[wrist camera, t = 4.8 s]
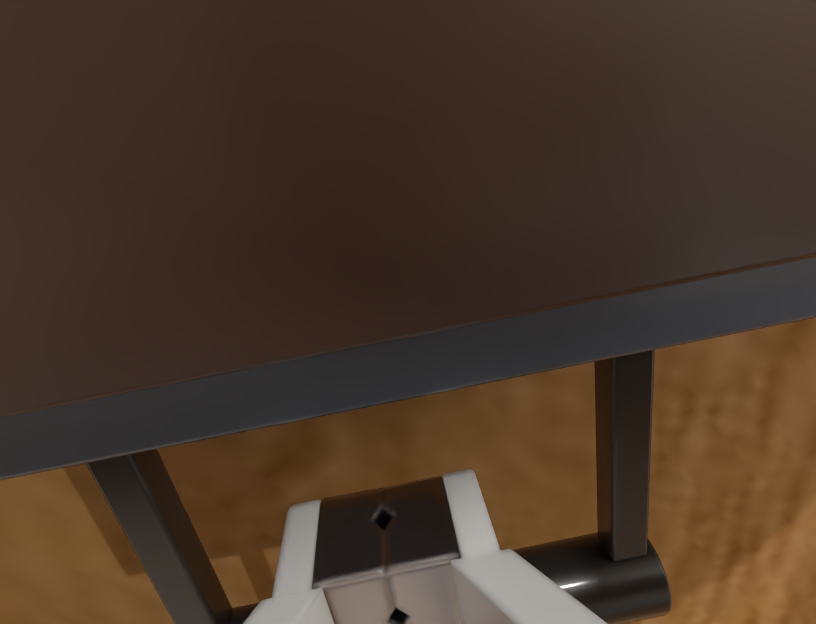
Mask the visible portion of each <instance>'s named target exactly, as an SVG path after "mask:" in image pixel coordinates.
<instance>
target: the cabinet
mask: <svg viewBox="0 0 816 624" xmlns="http://www.w3.org/2000/svg"><path fill="white" fill-rule="evenodd" d="M814 257H816V0H0V418H2V417H8V416H13V415H18V414H23V413H28V412H33V411H38V410H43V409H48V408H53V407H58V406H63V405H68V404H73V403H79V402H84V401H89V400H94V399H99V398H104V397H109V396H114V395H119V394H124V393H129V392H134V391H139V390H144V389H150V388H155V387H160V386H165V385H170V384H175V383H180V382H185V381H190V380H195V379H200V378H205V377H210V376H215V375H221V374H226V373H231V372H236V371H241V370H246V369H251V368H256V367H261V366H266V365H271V364H276V363H281V362H286V361H292V360H297V359H302V358H307V357H312V356H317V355H322V354H327V353H332V352H337V351H342V350H347V349H352V348H357V347H363V346H368V345H373V344H378V343H383V342H388V341H393V340H398V339H403V338H408V337H413V336H418V335H423V334H428V333H434V332H439V331H444V330H449V329H454V328H459V327H464V326H469V325H474V324H479V323H484V322H489V321H494V320H499V319H505V318H510V317H515V316H520V315H525V314H530V313H535V312H540V311H545V310H550V309H555V308H560V307H565V306H571V305H576V304H581V303H586V302H591V301H596V300H601V299H606V298H611V297H616V296H621V295H626V294H631V293H636V292H642V291H647V290H652V289H657V288H662V287H667V286H672V285H677V284H682V283H687V282H692V281H697V280H702V279H707V278H713V277H718V276H723V275H728V274H733V273H738V272H743V271H748V270H753V269H758V268H763V267H768V266H773V265H778V264H784V263H789V262H794V261H799V260H804V259H809V258H814Z"/></svg>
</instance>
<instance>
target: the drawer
mask: <svg viewBox="0 0 816 624" xmlns="http://www.w3.org/2000/svg"><path fill="white" fill-rule="evenodd" d="M815 317H816V257H814V258H809V259H804V260H799V261H794V262H789V263H784V264H778V265H773V266H768V267H763V268H758V269H753V270H748V271H743V272H738V273H733V274H728V275H723V276H718V277H713V278H707V279H702V280H697V281H692V282H687V283H682V284H677V285H672V286H667V287H662V288H657V289H652V290H647V291H642V292H636V293H631V294H626V295H621V296H616V297H611V298H606V299H601V300H596V301H591V302H586V303H581V304H576V305H571V306H565V307H560V308H555V309H550V310H545V311H540V312H535V313H530V314H525V315H520V316H515V317H510V318H505V319H499V320H494V321H489V322H484V323H479V324H474V325H469V326H464V327H459V328H454V329H449V330H444V331H439V332H434V333H428V334H423V335H418V336H413V337H408V338H403V339H398V340H393V341H388V342H383V343H378V344H373V345H368V346H363V347H357V348H352V349H347V350H342V351H337V352H332V353H327V354H322V355H317V356H312V357H307V358H302V359H297V360H292V361H286V362H281V363H276V364H271V365H266V366H261V367H256V368H251V369H246V370H241V371H236V372H231V373H226V374H221V375H215V376H210V377H205V378H200V379H195V380H190V381H185V382H180V383H175V384H170V385H165V386H160V387H155V388H150V389H144V390H139V391H134V392H129V393H124V394H119V395H114V396H109V397H104V398H99V399H94V400H89V401H84V402H79V403H73V404H68V405H63V406H58V407H53V408H48V409H43V410H38V411H33V412H28V413H23V414H18V415H13V416H8V417H2V418H0V480H4V479H9V478H14V477H19V476H24V475H29V474H34V473H39V472H44V471H49V470H54V469H59V468H64V467H69V466H74V465H79V464H84V463H86V465H87V467H88V469H89V470H90V472H91V474H92V476H93V477H94V479H95V481H96V483H97V485H98V486H99V488H100V490H101V492H102V494H103V495H104V497H105V499H106V501H107V503H108V504H109V506H110V508H111V510H112V512H113V513H114V515H115V517H116V519H117V521H118V522H119V524H120V526H121V528H122V530H123V531H124V533H125V535H126V537H127V539H128V540H129V542H130V544H131V546H132V548H133V549H134V551H135V553H136V555H137V557H138V558H139V560H140V562H141V564H142V566H143V567H144V569H145V571H146V573H147V575H148V576H149V578H150V580H151V582H152V584H153V585H154V587H155V589H156V591H157V593H158V594H159V596H160V598H161V600H162V602H163V603H164V605H165V607H166V609H167V610H168V612H169V614H170V616H171V618H172V619H173V621H174V623H175V624H243V623H244V621H245V620H246V619H247V618H248V616H249V615H250V614H251V613H252V611H253V610H254V609H255V608H256V606H257V605H258V604H259V603H255V604H250V605H245V606H240V607H236V608H232V607H231V605H230V603H229V601H228V599H227V596H226V594H225V592H224V590H223V588H222V586H221V584H220V582H219V580H218V577H217V575H216V573H215V571H214V569H213V567H212V565H211V563H210V561H209V558H208V556H207V554H206V552H205V550H204V548H203V546H202V544H201V542H200V540H199V537H198V535H197V533H196V531H195V529H194V527H193V525H192V523H191V521H190V518H189V516H188V514H187V512H186V510H185V508H184V506H183V504H182V502H181V499H180V497H179V495H178V493H177V491H176V489H175V487H174V485H173V483H172V481H171V478H170V476H169V474H168V472H167V470H166V468H165V466H164V464H163V462H162V459H161V457H160V455H159V453H158V451H157V449H159V448H164V447H169V446H174V445H179V444H184V443H189V442H194V441H199V440H204V439H209V438H214V437H219V436H224V435H229V434H234V433H239V432H244V431H249V430H254V429H259V428H264V427H269V426H274V425H279V424H284V423H289V422H294V421H299V420H304V419H309V418H315V417H320V416H325V415H330V414H335V413H340V412H345V411H350V410H355V409H360V408H365V407H370V406H375V405H380V404H385V403H390V402H395V401H400V400H405V399H410V398H415V397H420V396H425V395H430V394H435V393H440V392H445V391H450V390H455V389H460V388H465V387H470V386H475V385H480V384H485V383H490V382H495V381H500V380H505V379H510V378H515V377H520V376H525V375H530V374H535V373H540V372H545V371H550V370H555V369H560V368H565V367H570V366H575V365H580V364H585V363H590V362H595V410H596V465H597V520H598V532H597V533H592V534H587V535H583V536H578V537H573V538H568V539H563V540H558V541H554V542H549V543H544V544H539V545H534V546H530V547H525V548H520V549H515V550H513V551H514V552H516V553H517V554H518V555H519V556H521V557H522V558H523V559H525V560H526V561H527V562H529V563H530V564H531V565H532V566H534V567H535V568H536V569H538V570H539V571H540V572H541V573H543V574H544V575H545V576H547V577H548V578H549V579H551V580H552V581H553V582H554V583H556V584H557V585H558V586H560V587H561V588H562V589H563V590H565V591H566V592H567V593H569V594H570V595H571V596H573V597H574V598H575V599H576V600H578V601H579V602H580V603H582V604H583V605H584V606H585V607H587V608H588V609H589V610H591V611H592V612H593V613H595V614H596V615H597V616H598V617H600V618H601V619H602V620H604V621H605V622H606V623H607V624H626V623H630V622H635V621H640V620H645V619H649V618H654V617H659V616H664V615H666V614H668V613H669V612H670V610H671V593H670V588H669V584H668V580H667V577H666V574H665V571H664V568H663V566H662V563H661V561H660V559H659V557H658V555H657V553H656V551H655V549H654V547H653V546H652V544H651V543H650V541H649V539H648V538H647V534H648V508H649V482H650V456H651V429H652V403H653V377H654V351H655V349H660V348H665V347H670V346H675V345H680V344H685V343H690V342H695V341H700V340H705V339H710V338H715V337H720V336H725V335H730V334H735V333H740V332H745V331H750V330H755V329H760V328H765V327H770V326H775V325H780V324H785V323H790V322H795V321H800V320H805V319H810V318H815Z"/></svg>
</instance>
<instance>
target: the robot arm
mask: <svg viewBox="0 0 816 624" xmlns="http://www.w3.org/2000/svg"><path fill="white" fill-rule="evenodd" d="M243 624H607V623H606V622H605V621H604V620H602V619H601V618H600V617H598V616H597V615H596V614H595V613H593V612H592V611H591V610H589V609H588V608H587V607H585V606H584V605H583V604H582V603H580V602H579V601H578V600H576V599H575V598H574V597H573V596H571V595H570V594H569V593H567V592H566V591H565V590H563V589H562V588H561V587H560V586H558V585H557V584H556V583H554V582H553V581H552V580H551V579H549V578H548V577H547V576H545V575H544V574H543V573H541V572H540V571H539V570H538V569H536V568H535V567H534V566H532V565H531V564H530V563H529V562H527V561H526V560H525V559H523V558H522V557H521V556H519V555H518V554H517V553H516V552H514V551H513V550H512V549H505V550H500V548H499V545H498V541H497V538H496V535H495V532H494V529H493V526H492V523H491V520H490V517H489V514H488V511H487V508H486V505H485V502H484V499H483V496H482V493H481V490H480V487H479V484H478V481H477V478H476V475H475V472H474V471H473V470H472V469H471V468H469V469H464V470H460V471H455V472H451V473H446V474H442V477H441V475H439V476H435V477H430V478H425V479H420V480H416V481H411V482H406V483H401V484H397V485H392V486H387V487H383V488H378V489H372V490H366V491H361V492H355V493H350V494H344V495H338V496H333V497H327V498H323V499H320V500H314V501H308V502H303V503H297V504H292V505H291V507H290V509H289V510H288V512H287V516H286V522H285V527H284V533H283V538H282V544H281V549H280V554H279V560H278V565H277V571H276V576H275V581H274V587H273V592H272V598H269V599H264V600H261V601H260V602H259V604H258V605H257V606H256V608H255V609H254V610H253V611H252V613H251V614H250V615H249V616H248V618H247V619H246V620H245V621H244V623H243Z"/></svg>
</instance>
